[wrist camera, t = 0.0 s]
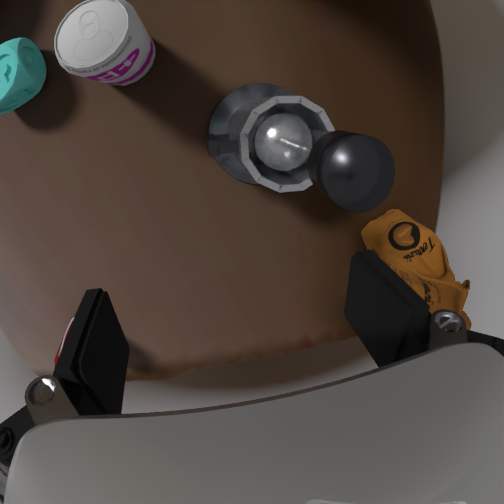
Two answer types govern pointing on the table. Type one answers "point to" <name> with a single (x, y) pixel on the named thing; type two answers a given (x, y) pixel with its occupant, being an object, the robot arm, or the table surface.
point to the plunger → (329, 160)
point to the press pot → (244, 127)
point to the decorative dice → (20, 73)
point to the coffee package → (417, 260)
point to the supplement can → (104, 42)
